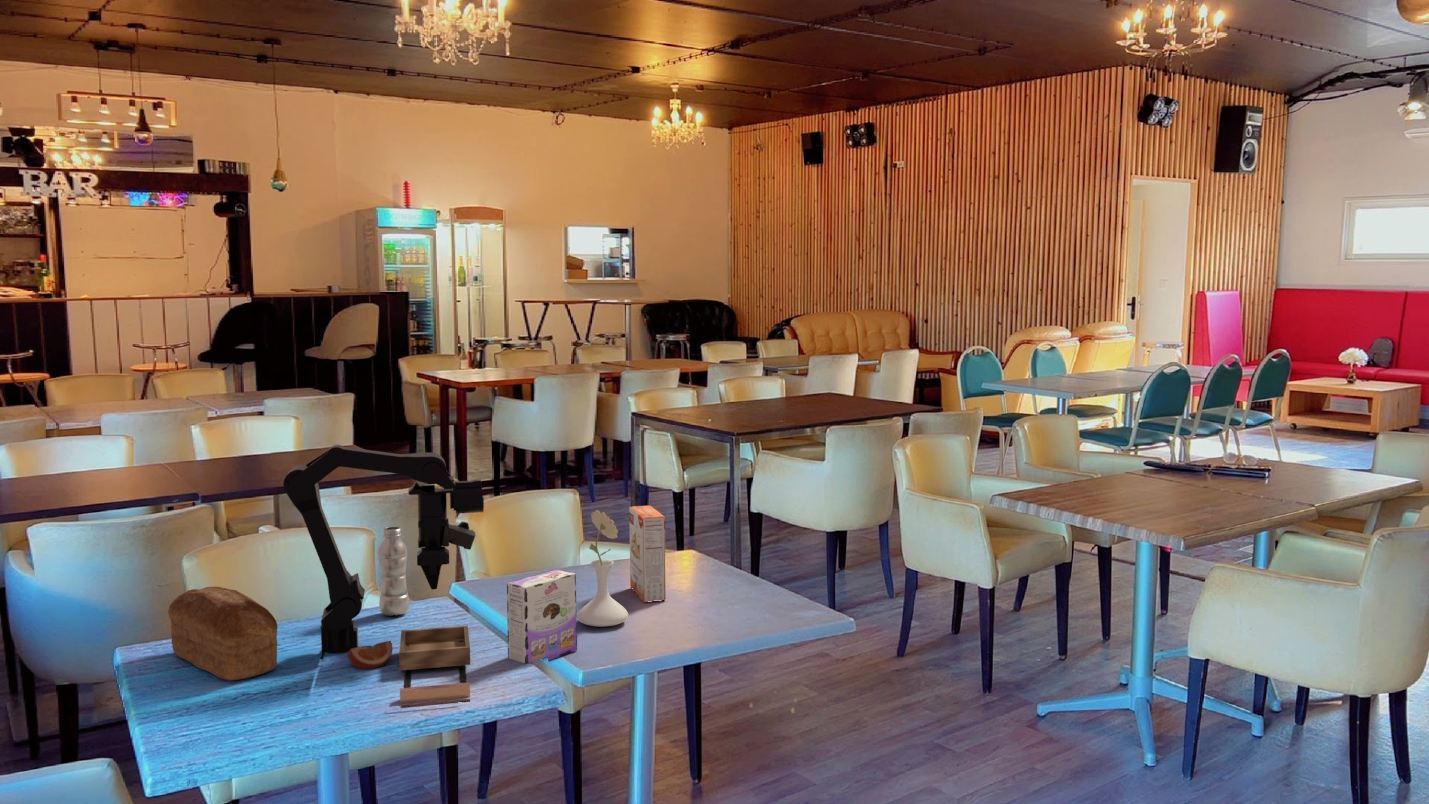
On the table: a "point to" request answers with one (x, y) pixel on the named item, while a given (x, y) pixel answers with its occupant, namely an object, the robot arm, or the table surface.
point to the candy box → (542, 616)
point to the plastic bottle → (393, 573)
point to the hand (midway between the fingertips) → (434, 588)
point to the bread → (223, 632)
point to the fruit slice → (370, 655)
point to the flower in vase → (602, 583)
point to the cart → (434, 647)
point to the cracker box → (647, 553)
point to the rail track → (434, 691)
